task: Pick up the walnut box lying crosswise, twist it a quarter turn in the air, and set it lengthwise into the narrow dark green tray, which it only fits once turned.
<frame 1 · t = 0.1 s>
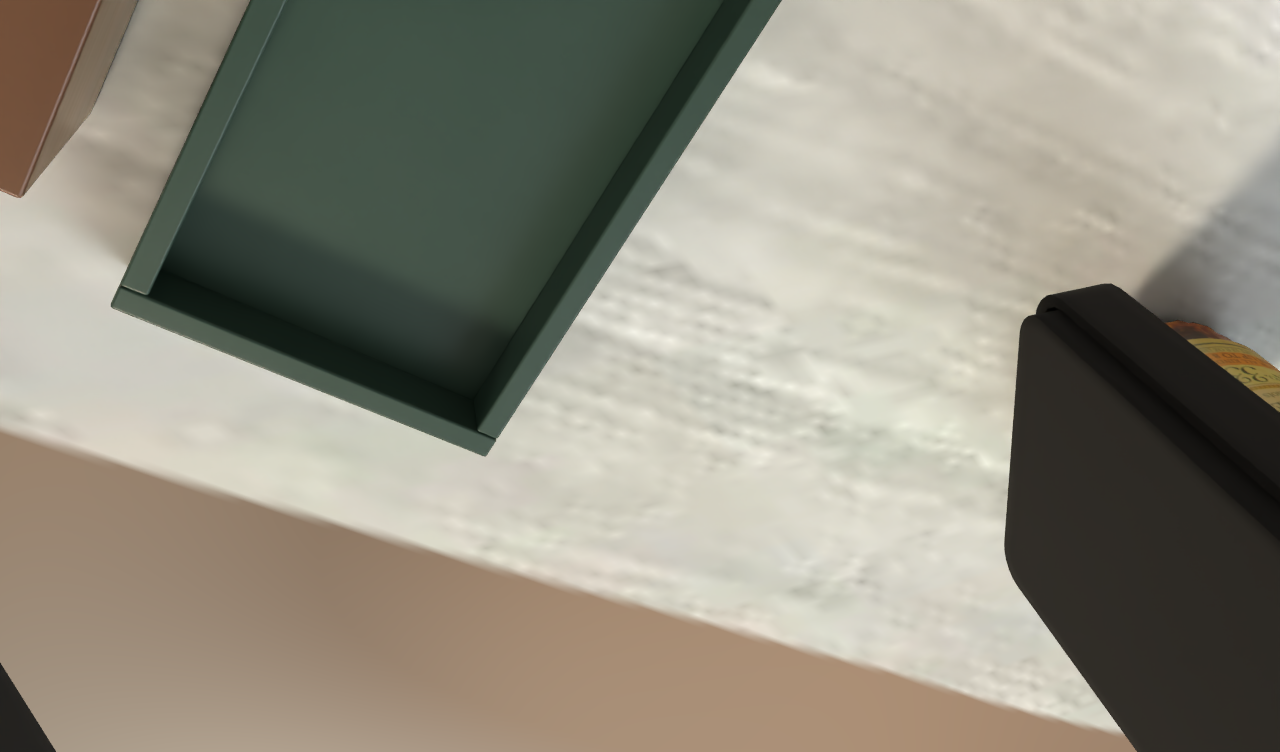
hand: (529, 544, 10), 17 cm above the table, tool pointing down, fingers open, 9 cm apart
tray: (473, 63, 24), on the table
sauce bottle: (1127, 395, 33), on the table
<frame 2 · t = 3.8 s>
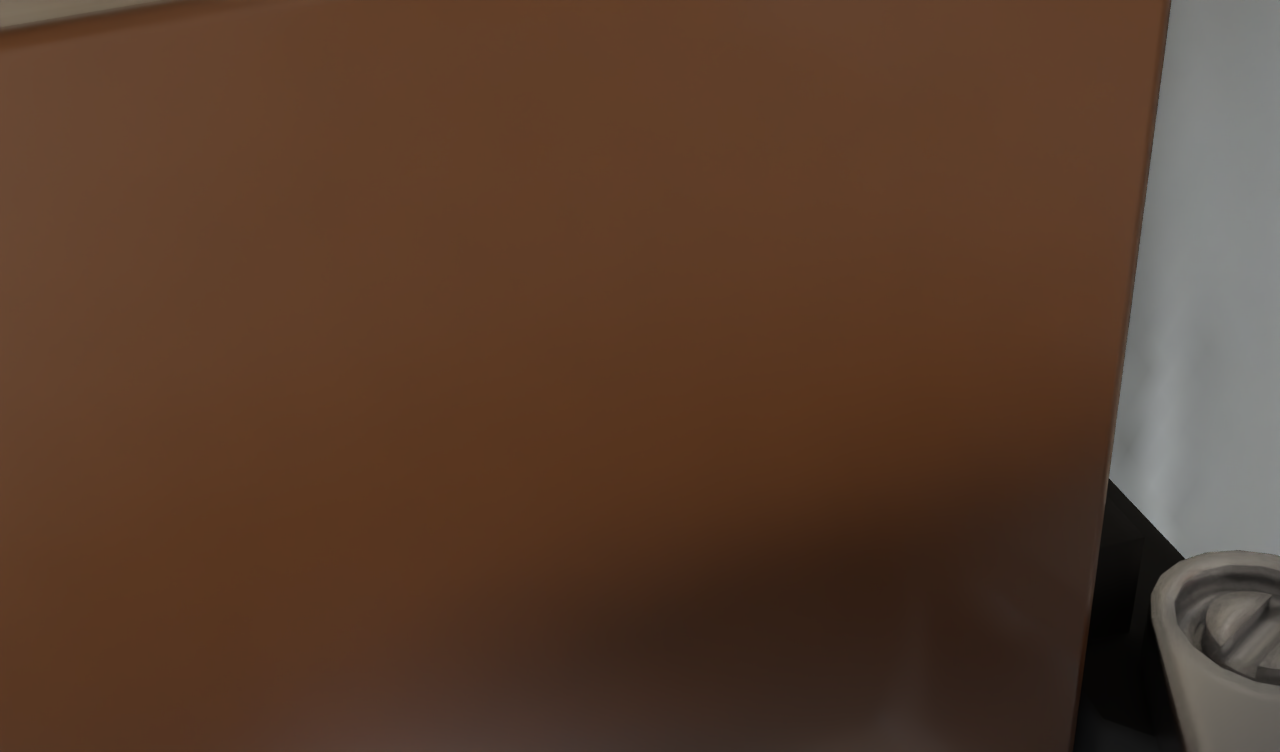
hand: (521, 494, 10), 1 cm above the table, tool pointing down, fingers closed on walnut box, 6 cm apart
walnut box: (516, 459, 11), on the table, touching gripper
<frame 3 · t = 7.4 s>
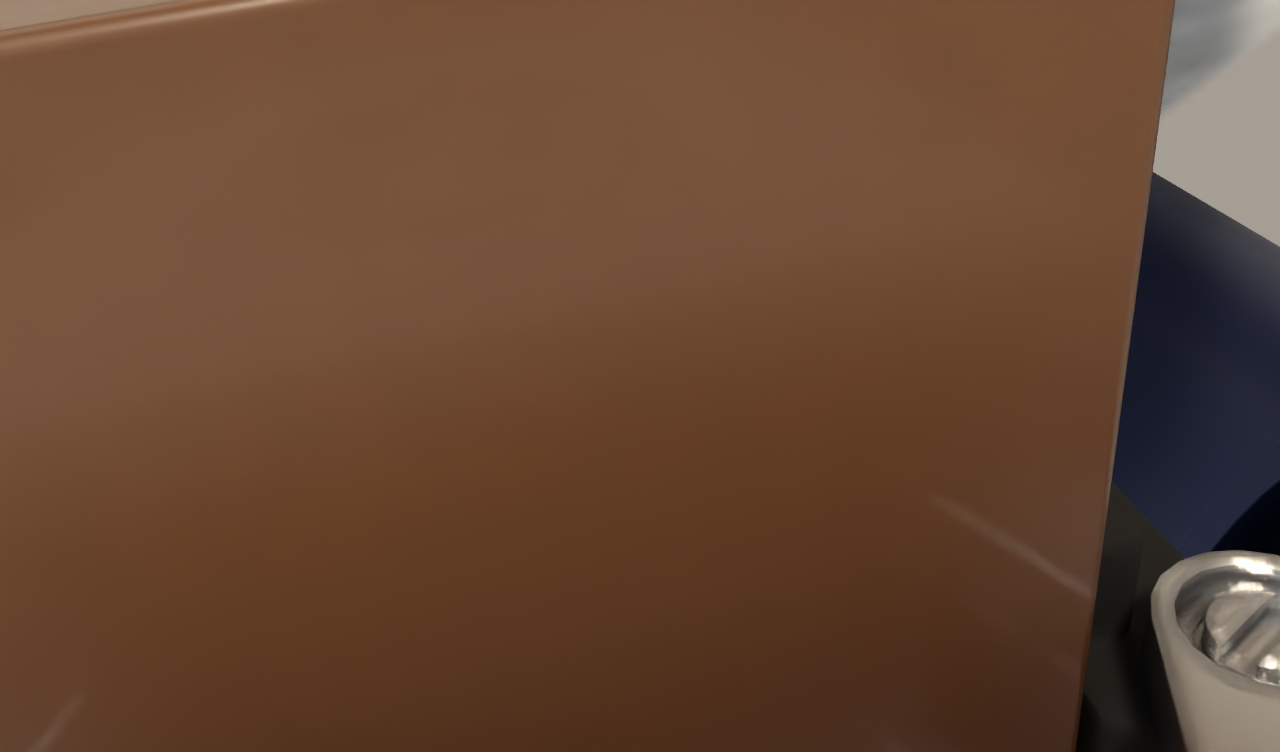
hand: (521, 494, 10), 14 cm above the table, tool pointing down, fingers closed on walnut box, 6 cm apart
walnut box: (518, 459, 11), point 13 cm above the table, touching gripper
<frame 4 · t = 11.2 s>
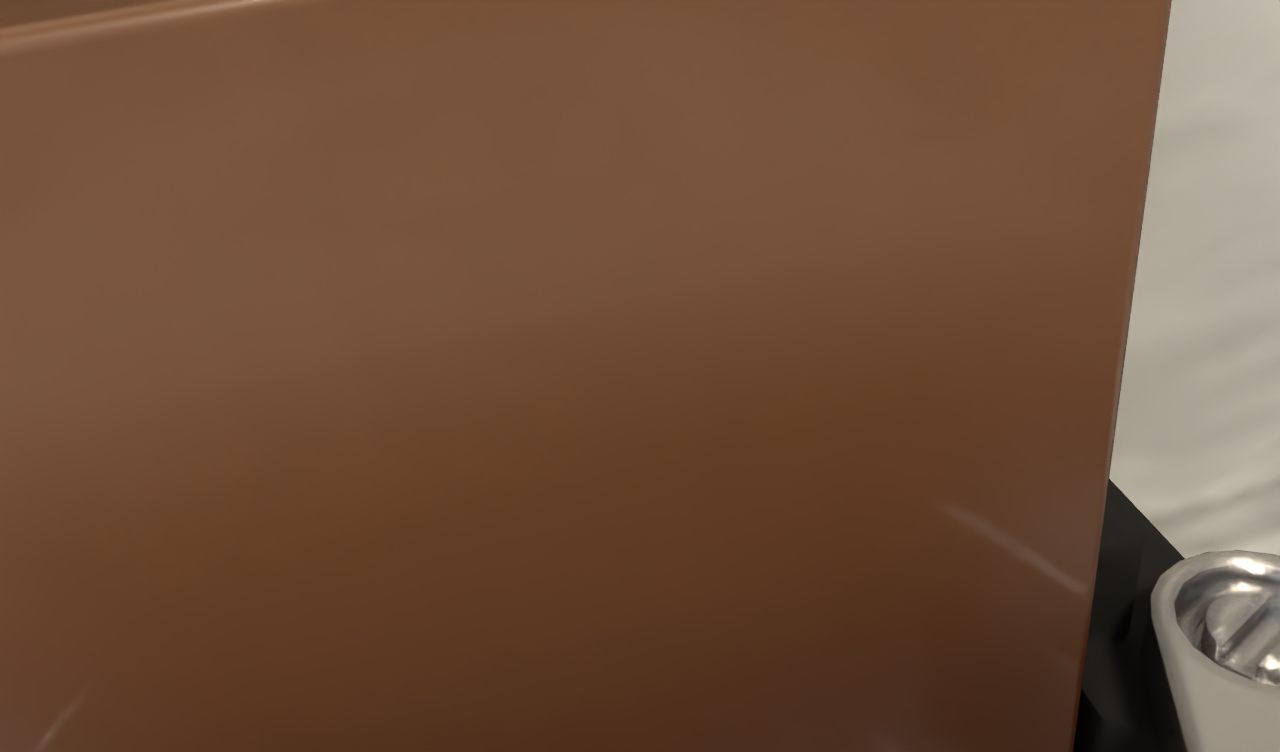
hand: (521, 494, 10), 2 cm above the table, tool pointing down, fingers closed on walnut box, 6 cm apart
walnut box: (516, 459, 11), point 1 cm above the table, touching gripper
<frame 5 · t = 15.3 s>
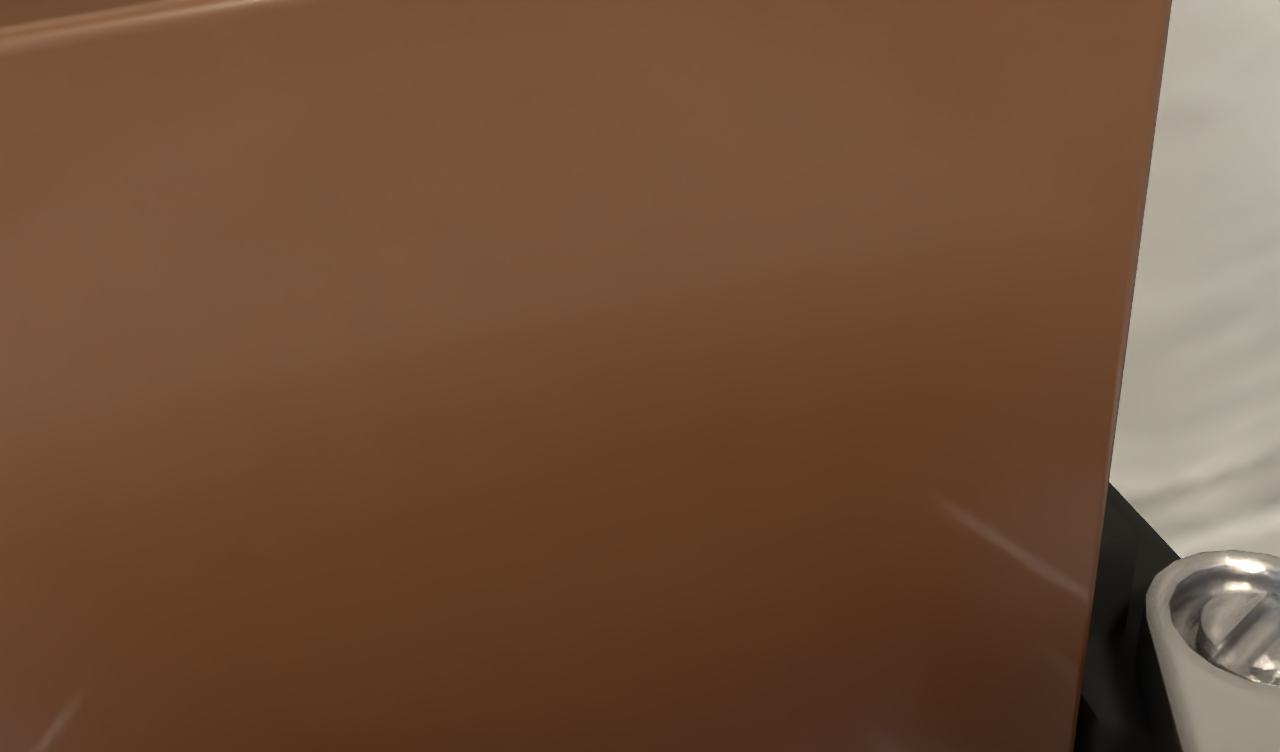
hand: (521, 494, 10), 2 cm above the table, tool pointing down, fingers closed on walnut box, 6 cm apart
walnut box: (516, 459, 11), point 2 cm above the table, touching gripper
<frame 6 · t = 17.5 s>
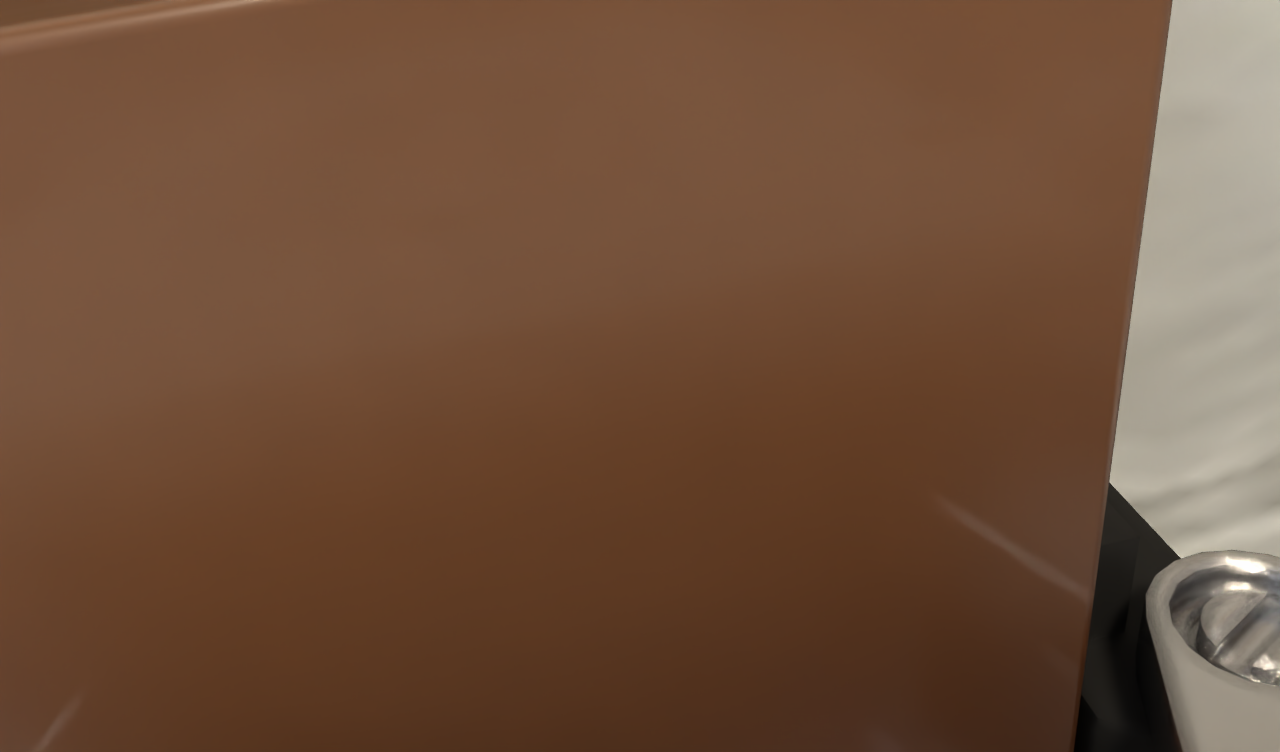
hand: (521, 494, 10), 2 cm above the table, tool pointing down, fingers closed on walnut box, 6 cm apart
walnut box: (516, 459, 11), point 2 cm above the table, touching gripper
when the fingers open (3 cm above the table, at t = 19.2 s): walnut box drops 1 cm, resting on tray.
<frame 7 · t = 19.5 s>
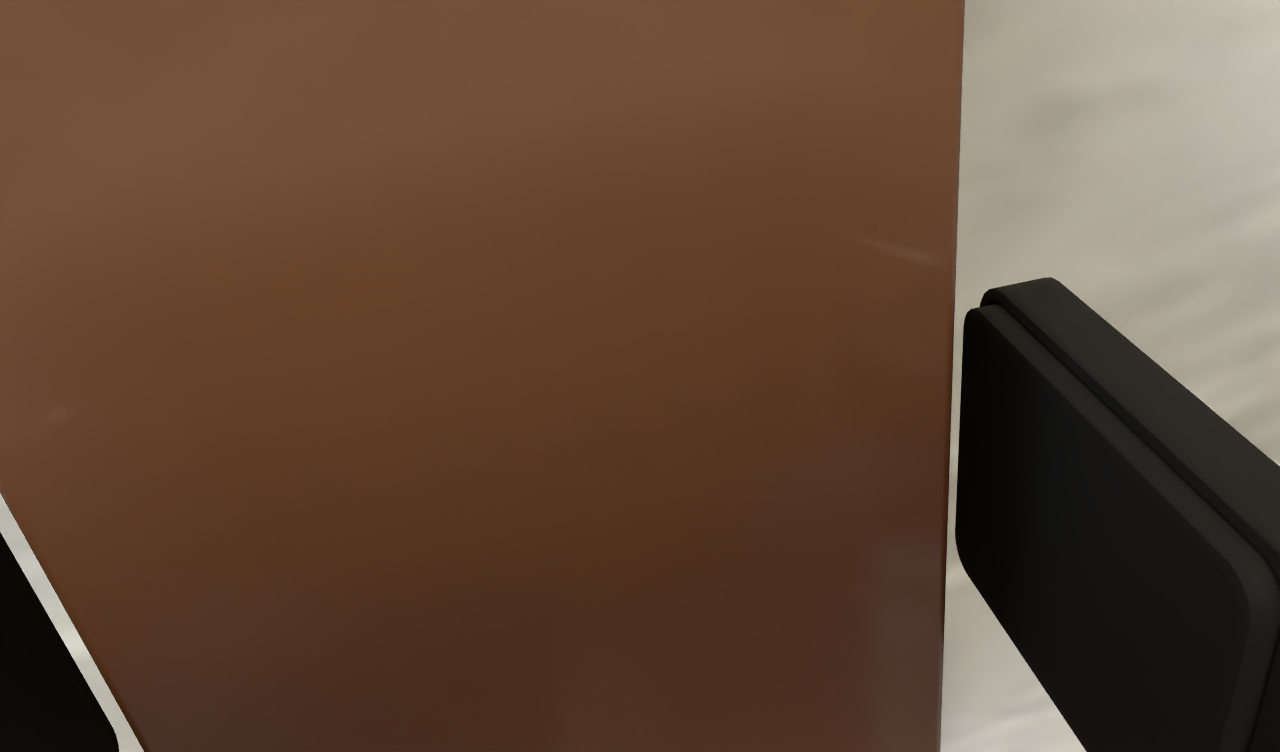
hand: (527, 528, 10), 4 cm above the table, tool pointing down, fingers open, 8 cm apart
walnut box: (509, 363, 12), point 1 cm above the table, touching tray
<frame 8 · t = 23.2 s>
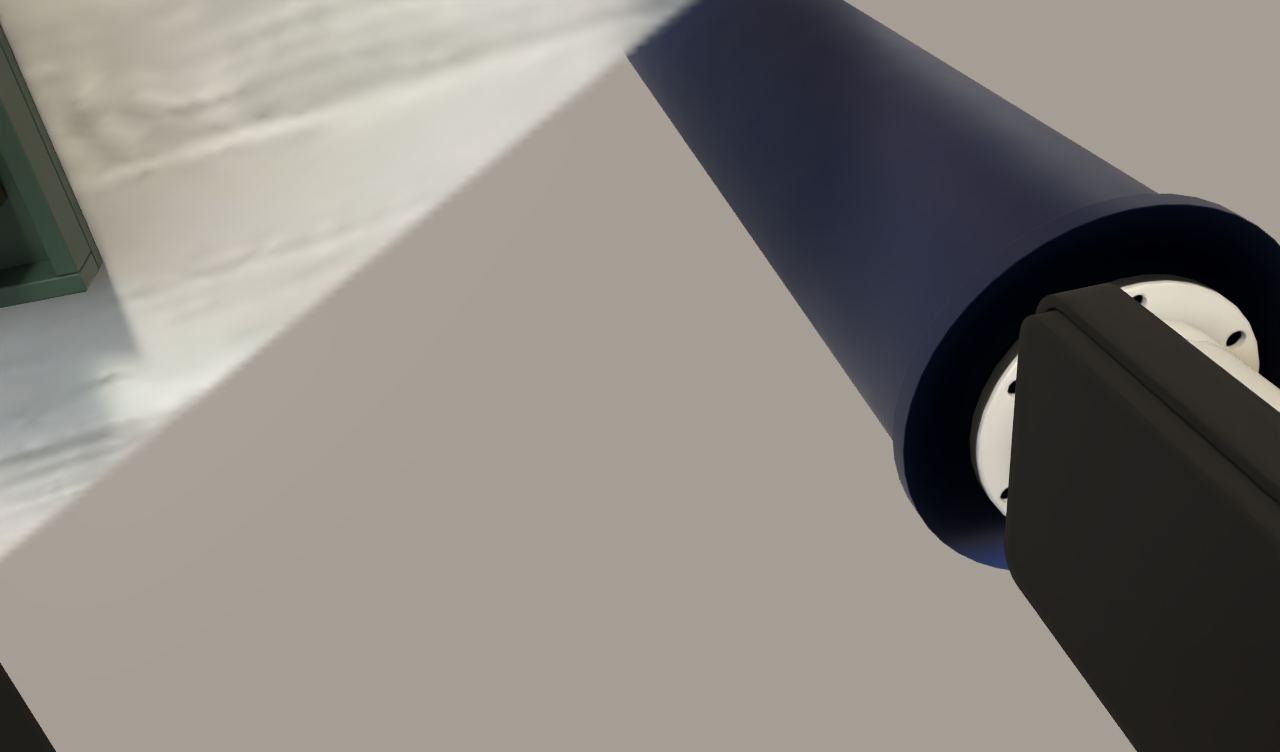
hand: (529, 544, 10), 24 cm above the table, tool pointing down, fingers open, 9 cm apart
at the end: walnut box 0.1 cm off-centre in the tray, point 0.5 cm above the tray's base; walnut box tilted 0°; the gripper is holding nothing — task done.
